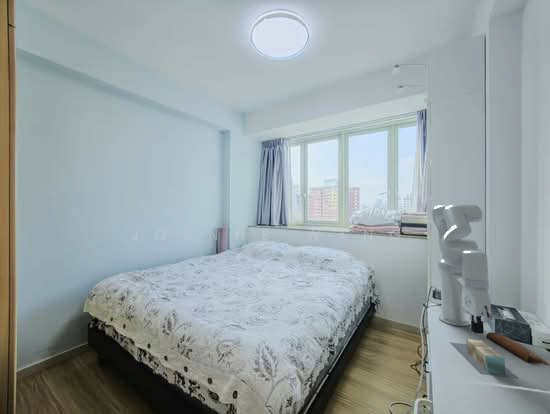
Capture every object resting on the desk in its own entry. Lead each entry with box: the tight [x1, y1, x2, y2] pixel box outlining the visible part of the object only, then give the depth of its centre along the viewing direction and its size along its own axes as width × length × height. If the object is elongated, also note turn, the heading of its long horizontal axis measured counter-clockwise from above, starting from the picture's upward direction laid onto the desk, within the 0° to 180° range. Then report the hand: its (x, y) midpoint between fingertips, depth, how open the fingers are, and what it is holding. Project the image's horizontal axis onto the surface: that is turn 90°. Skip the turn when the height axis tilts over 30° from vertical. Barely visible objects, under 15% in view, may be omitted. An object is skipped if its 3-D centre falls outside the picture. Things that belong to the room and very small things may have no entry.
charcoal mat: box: [449, 341, 520, 380], centre depth 86 cm, size 20×11×1 cm, turn 167°
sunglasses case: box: [485, 331, 550, 366], centre depth 91 cm, size 18×7×7 cm
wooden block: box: [466, 338, 506, 374], centre depth 83 cm, size 5×5×12 cm
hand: (477, 332), depth 87 cm, fingers closed
